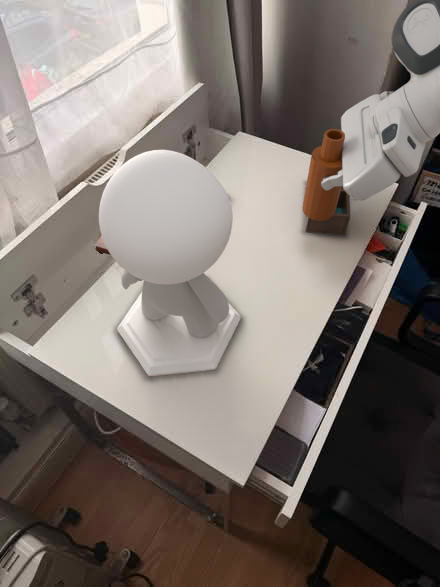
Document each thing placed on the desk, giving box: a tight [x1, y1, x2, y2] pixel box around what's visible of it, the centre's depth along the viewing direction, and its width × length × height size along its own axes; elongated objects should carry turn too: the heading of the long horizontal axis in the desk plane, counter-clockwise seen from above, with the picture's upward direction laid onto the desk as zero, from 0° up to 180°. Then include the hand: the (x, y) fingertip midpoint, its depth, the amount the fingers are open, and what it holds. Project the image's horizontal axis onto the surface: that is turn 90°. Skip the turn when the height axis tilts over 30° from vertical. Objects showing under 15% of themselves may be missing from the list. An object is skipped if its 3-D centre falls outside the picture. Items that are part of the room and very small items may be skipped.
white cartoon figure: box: [98, 149, 242, 377], centre depth 67 cm, size 20×23×35 cm
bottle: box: [302, 128, 345, 221], centre depth 75 cm, size 6×6×16 cm
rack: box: [305, 186, 351, 236], centre depth 96 cm, size 8×16×6 cm, turn 171°
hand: (323, 171), depth 74 cm, fingers closed on bottle, 6 cm apart
